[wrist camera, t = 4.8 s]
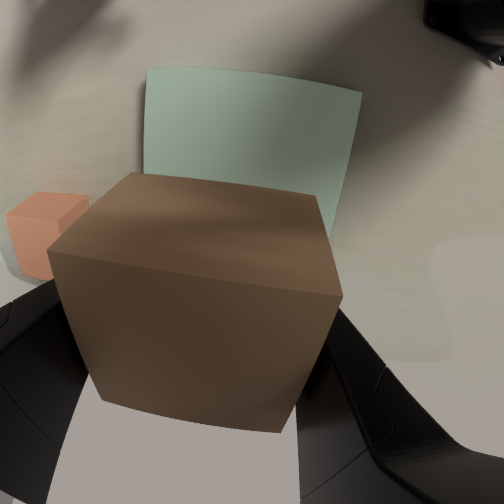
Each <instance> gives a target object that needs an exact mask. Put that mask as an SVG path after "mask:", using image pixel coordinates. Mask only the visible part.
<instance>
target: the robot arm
mask: <svg viewBox="0 0 504 504" xmlns="http://www.w3.org/2000/svg"><path fill="white" fill-rule="evenodd" d="M430 18H431V19H432V20H433V21H434V25H432V24H431V23H430ZM423 22H424V25H425V26H426V27H427V28H429V29H430V30H433V31H435V32H437V33H439V34H441V35H444V36H446V37H448V38H450V39H452V40H454V41H456V42H458V43H460V44H462V45H464V46H466V47H468V48H469V49H471V50H473V51H475V52H477V53H479V54H480V55H482V56H484V57H486V58H487V59H489V60H491V61H492V62H494V63H496V64H497V65H500V66H504V0H425V4H424V15H423ZM499 56H500V57H501V61H500V59H499ZM88 374H89V372H88V370H87V367H86V365H85V363H84V360H83V358H82V356H81V353H80V351H79V348H78V346H77V343H76V341H75V338H74V336H73V333H72V331H71V328H70V325H69V322H68V320H67V317H66V314H65V311H64V308H63V305H62V302H61V299H60V296H59V293H58V290H57V287H56V283H55V280H54V278H53V279H51V280H49V281H48V282H46V283H44V284H42V285H40V286H38V287H37V288H35V289H33V290H31V291H29V292H28V293H26V294H24V295H22V296H21V297H18V298H17V299H15V300H13V302H9V303H8V304H6V305H4V306H3V307H1V308H0V504H12V502H13V499H14V498H16V499H18V500H20V501H22V502H24V503H26V504H46V501H47V496H48V493H49V489H50V485H51V482H52V478H53V474H54V471H55V468H56V465H57V461H58V458H59V455H60V450H61V448H62V445H63V442H64V439H65V436H66V433H67V430H68V427H69V424H70V421H71V419H72V416H73V413H74V410H75V408H76V405H77V402H78V399H79V397H80V394H81V392H82V389H83V387H84V384H85V382H86V379H87V377H88ZM295 405H296V420H297V421H296V422H297V438H298V459H299V481H300V499H301V501H300V504H504V458H501V457H496V456H492V455H488V454H483V453H479V452H475V451H472V450H470V449H467V448H465V447H464V446H462V445H460V444H459V443H458V442H456V441H455V440H454V439H453V438H452V437H451V436H450V435H449V434H448V433H447V432H446V431H445V430H444V429H443V428H442V427H441V426H440V425H439V424H438V423H437V422H436V421H435V419H433V417H431V415H430V414H429V413H428V412H427V411H426V410H425V409H424V408H423V407H422V406H421V405H420V404H419V403H418V402H417V401H416V399H415V398H414V397H413V396H412V395H411V394H410V393H409V392H408V391H407V390H406V388H405V387H404V386H403V385H402V384H401V382H400V381H399V380H398V379H397V378H396V376H395V375H394V374H393V373H392V371H391V370H390V369H389V368H388V367H386V364H385V363H384V362H383V360H382V359H381V358H380V357H379V355H378V354H377V353H376V352H375V351H374V349H373V348H372V347H371V346H370V344H369V343H368V342H367V341H366V339H365V338H364V337H363V336H362V335H361V333H360V332H359V331H358V330H357V329H356V327H355V326H354V325H353V324H352V322H351V321H350V320H349V319H348V318H347V316H346V315H345V314H344V313H343V312H342V310H341V309H340V308H338V310H337V313H336V315H335V318H334V320H333V323H332V325H331V328H330V330H329V332H328V335H327V337H326V339H325V342H324V344H323V346H322V348H321V351H320V353H319V355H318V357H317V360H316V362H315V364H314V366H313V369H312V371H311V373H310V375H309V377H308V379H307V381H306V383H305V386H304V388H303V390H302V392H301V394H300V396H299V398H298V400H297V402H296V404H295Z"/></svg>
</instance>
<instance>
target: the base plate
mask: <svg viewBox="0 0 504 504" xmlns="http://www.w3.org/2000/svg"><path fill="white" fill-rule="evenodd" d="M362 95H363V93H362V92H358V91H354V90H350V89H346V88H342V87H338V86H333V85H329V84H324V83H319V82H314V81H309V80H303V79H298V78H292V77H285V76H279V75H272V74H264V73H256V72H247V71H237V70H225V69H211V68H187V67H147V79H146V94H145V115H144V174H156V175H167V176H177V177H186V178H195V179H204V180H213V181H221V182H229V183H236V184H244V185H251V186H258V187H265V188H272V189H278V190H285V191H291V192H297V193H303V194H309V195H315V196H316V199H317V202H318V206H319V209H320V212H321V216H322V219H323V222H324V226H325V229H326V233H327V236H328V240H329V236H330V233H331V229H332V225H333V222H334V218H335V214H336V210H337V207H338V203H339V199H340V195H341V191H342V187H343V183H344V179H345V174H346V170H347V166H348V162H349V157H350V153H351V149H352V144H353V140H354V135H355V130H356V126H357V121H358V116H359V111H360V106H361V101H362Z"/></svg>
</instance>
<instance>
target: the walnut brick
mask: <svg viewBox="0 0 504 504" xmlns="http://www.w3.org/2000/svg"><path fill="white" fill-rule="evenodd" d="M47 254H48V258H49V262H50V266H51V269H52V273H53V276H54V280H55V283H56V287H57V290H58V293H59V296H60V299H61V302H62V305H63V308H64V311H65V314H66V317H67V320H68V322H69V325H70V328H71V331H72V333H73V336H74V338H75V341H76V343H77V346H78V348H79V351H80V353H81V356H82V358H83V360H84V363H85V365H86V367H87V370H88V372H89V374H90V376H91V378H92V381H93V382H94V385H95V387H96V389H97V391H98V393H99V395H100V397H101V399H102V400H104V401H107V402H110V403H114V404H117V405H121V406H124V407H128V408H131V409H135V410H139V411H143V412H147V413H151V414H155V415H160V416H164V417H169V418H174V419H179V420H184V421H189V422H195V423H200V424H206V425H213V426H219V427H226V428H233V429H242V430H250V431H260V432H272V433H281V431H282V429H283V427H284V425H285V424H286V422H287V420H288V418H289V416H290V414H291V412H292V410H293V408H294V406H295V404H296V402H297V400H298V398H299V396H300V394H301V392H302V390H303V388H304V386H305V383H306V381H307V379H308V377H309V375H310V373H311V371H312V369H313V366H314V364H315V362H316V360H317V357H318V355H319V353H320V351H321V348H322V346H323V344H324V342H325V339H326V337H327V335H328V332H329V330H330V328H331V325H332V323H333V320H334V318H335V315H336V313H337V310H338V308H339V305H340V303H341V300H342V298H343V293H342V289H341V285H340V281H339V277H338V273H337V270H336V266H335V262H334V258H333V255H332V251H331V247H330V244H329V240H328V236H327V233H326V229H325V226H324V222H323V219H322V216H321V212H320V209H319V206H318V202H317V199H316V196H315V195H309V194H303V193H297V192H291V191H285V190H278V189H272V188H265V187H258V186H251V185H244V184H236V183H229V182H221V181H213V180H204V179H195V178H186V177H177V176H167V175H156V174H144V173H132V172H131V173H130V174H129V175H128V176H126V177H125V178H124V179H123V180H121V181H120V182H119V183H118V184H117V185H116V186H114V187H113V188H112V189H111V190H110V191H108V192H107V193H106V194H105V195H104V196H103V197H102V198H100V199H99V200H98V201H97V202H96V203H95V204H94V205H93V206H91V207H90V208H89V209H88V210H87V211H86V212H85V213H84V214H83V215H82V216H81V217H79V218H78V219H77V220H76V221H75V222H74V223H73V224H72V225H71V226H70V227H69V228H68V229H67V230H66V231H65V232H64V233H63V234H62V235H61V236H60V237H59V238H58V239H57V240H56V241H55V242H54V243H53V244H52V245H51V246H50V247H49V248H48V249H47Z"/></svg>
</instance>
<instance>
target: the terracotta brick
mask: <svg viewBox="0 0 504 504" xmlns="http://www.w3.org/2000/svg"><path fill="white" fill-rule="evenodd" d="M88 209H89V203H88V195H75V194H61V193H45V192H36V193H35V194H33V195H32V196H30V197H29V198H28V199H26V200H25V201H23V202H22V203H21V204H19V205H18V206H17V207H15V208H14V209H13V210H11V211H10V212H9V213H7V214H6V219H7V223H8V227H9V231H10V235H11V238H12V242H13V246H14V249H15V252H16V256H17V259H18V262H19V265H20V268H21V271H22V274H23V275H24V276H28V277H32V278H36V279H40V280H45V281H49V280H51V279H53V278H54V276H53V273H52V269H51V266H50V262H49V258H48V254H47V249H48V248H49V247H50V246H51V245H52V244H53V243H54V242H55V241H56V240H57V239H58V238H59V237H60V236H61V235H62V234H63V233H64V232H65V231H66V230H67V229H68V228H69V227H70V226H71V225H72V224H73V223H74V222H75V221H76V220H77V219H78V218H79V217H81V216H82V215H83V214H84V213H85V212H86V211H87V210H88Z"/></svg>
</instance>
